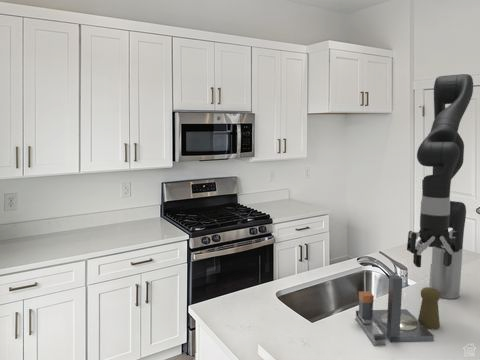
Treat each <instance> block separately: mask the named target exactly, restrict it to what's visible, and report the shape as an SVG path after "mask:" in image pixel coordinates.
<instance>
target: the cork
mask: <svg viewBox="0 0 480 360" xmlns="http://www.w3.org/2000/svg"><path fill="white" fill-rule="evenodd" d="M429 287H430V286H429ZM429 287H427V286H426V287H423V288H422V289H421V290H420V297H421V304H420V308H419V313H418V319H417V320H418V321H419V322H420V323H421V324H422V325H423V326H424V327H425V328H426V329H427V330H433V331H434V330H438V329H440V327H441V323H440V312H439V301H440V299H441V297H440V293H439V291H438V290H436V289H434V288H429Z"/></svg>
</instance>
